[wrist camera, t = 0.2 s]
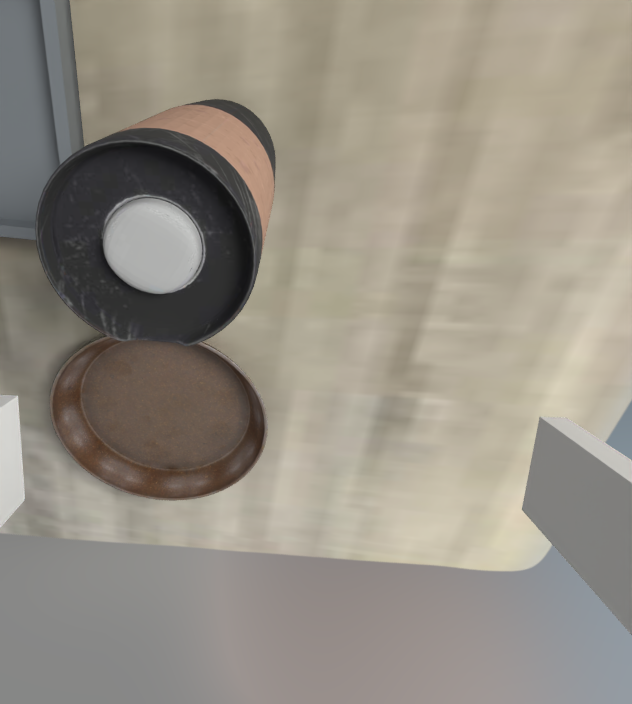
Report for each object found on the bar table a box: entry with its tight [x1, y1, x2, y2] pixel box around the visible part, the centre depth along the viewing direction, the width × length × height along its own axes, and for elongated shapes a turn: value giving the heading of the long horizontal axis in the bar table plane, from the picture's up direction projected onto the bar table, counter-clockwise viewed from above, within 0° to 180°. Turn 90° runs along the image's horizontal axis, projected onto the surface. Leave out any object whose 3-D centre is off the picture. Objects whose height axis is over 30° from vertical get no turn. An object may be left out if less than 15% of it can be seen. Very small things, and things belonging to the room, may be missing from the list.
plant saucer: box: [50, 336, 268, 500], centre depth 44 cm, size 18×18×3 cm
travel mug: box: [35, 99, 275, 346], centre depth 26 cm, size 8×8×20 cm
